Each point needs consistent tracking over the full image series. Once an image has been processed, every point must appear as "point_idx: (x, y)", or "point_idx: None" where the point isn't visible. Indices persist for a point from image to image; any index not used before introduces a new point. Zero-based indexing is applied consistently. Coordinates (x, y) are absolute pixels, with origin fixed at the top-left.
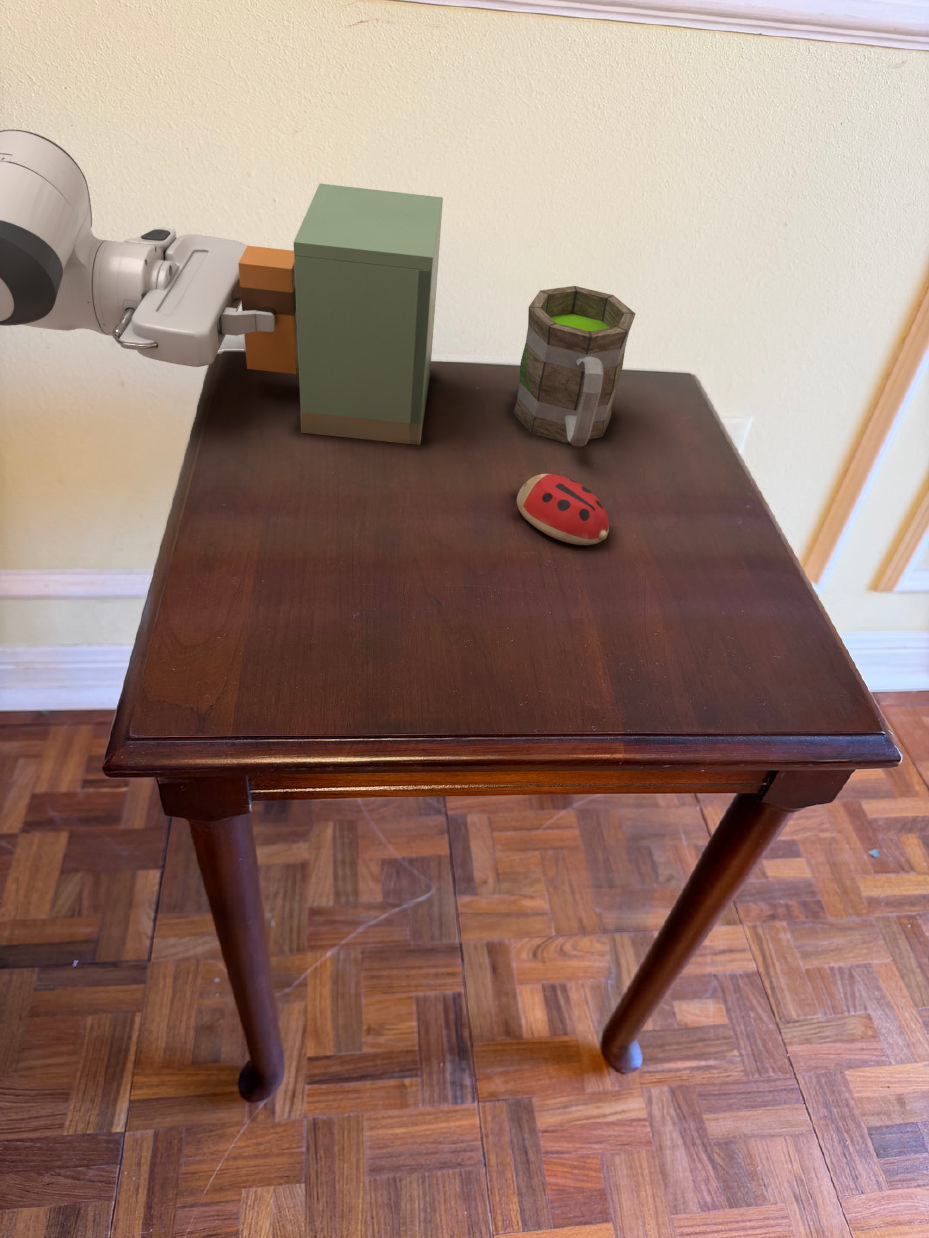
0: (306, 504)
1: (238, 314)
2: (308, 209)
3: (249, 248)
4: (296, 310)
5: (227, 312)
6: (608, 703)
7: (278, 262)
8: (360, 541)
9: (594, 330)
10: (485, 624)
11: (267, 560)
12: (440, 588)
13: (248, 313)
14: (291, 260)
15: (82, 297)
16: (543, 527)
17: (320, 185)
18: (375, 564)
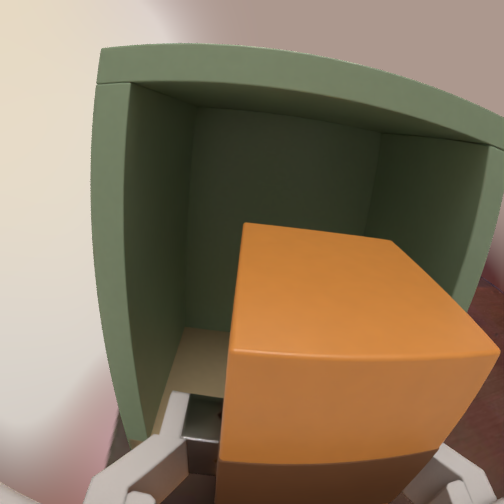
0: (486, 422)
1: (472, 463)
2: (326, 57)
3: (285, 336)
4: (478, 281)
5: (481, 495)
6: (487, 288)
7: (375, 255)
8: (491, 376)
9: None
10: (490, 317)
11: None
12: (487, 334)
13: (445, 447)
14: (335, 235)
15: None
16: None
17: (119, 46)
18: (500, 364)
